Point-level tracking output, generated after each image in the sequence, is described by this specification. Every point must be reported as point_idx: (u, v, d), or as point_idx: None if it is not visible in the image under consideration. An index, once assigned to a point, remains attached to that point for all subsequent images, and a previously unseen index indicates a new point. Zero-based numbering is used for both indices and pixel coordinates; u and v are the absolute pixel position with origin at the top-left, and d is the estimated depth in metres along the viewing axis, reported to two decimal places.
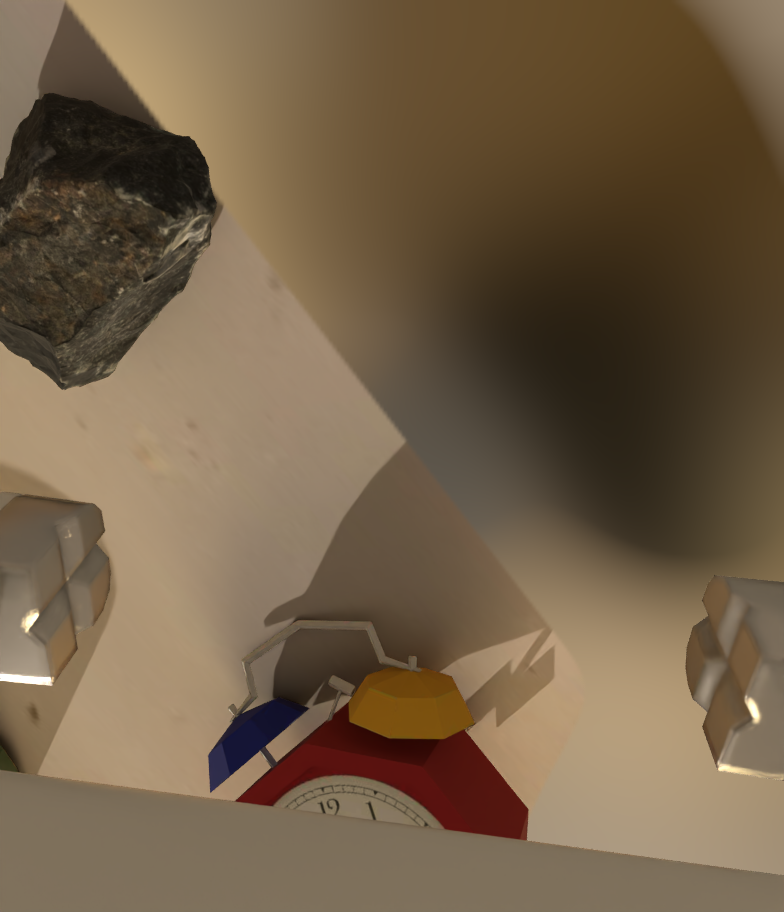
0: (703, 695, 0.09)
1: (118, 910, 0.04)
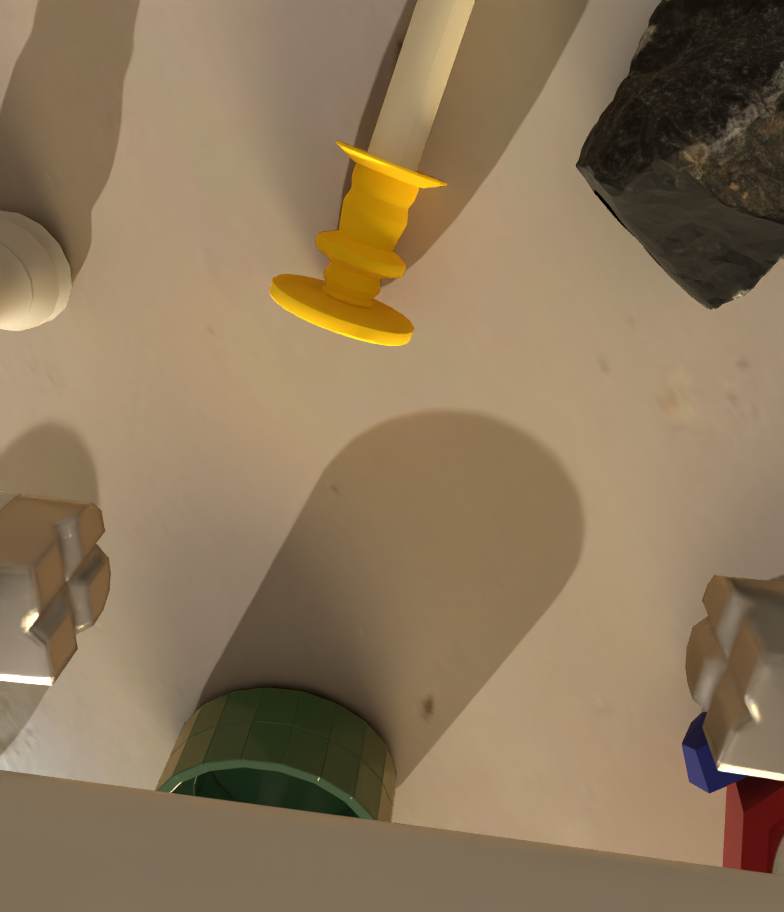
0: (703, 695, 0.09)
1: (119, 909, 0.04)
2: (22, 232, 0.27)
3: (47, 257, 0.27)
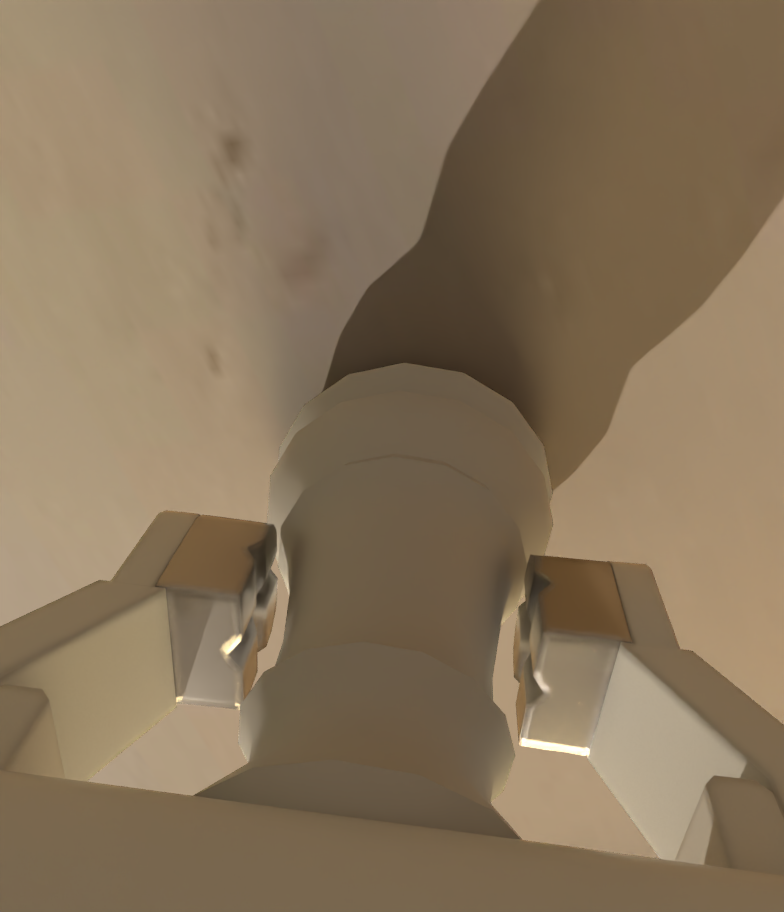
0: (521, 673, 0.10)
1: (119, 910, 0.04)
2: (503, 436, 0.10)
3: (545, 493, 0.11)
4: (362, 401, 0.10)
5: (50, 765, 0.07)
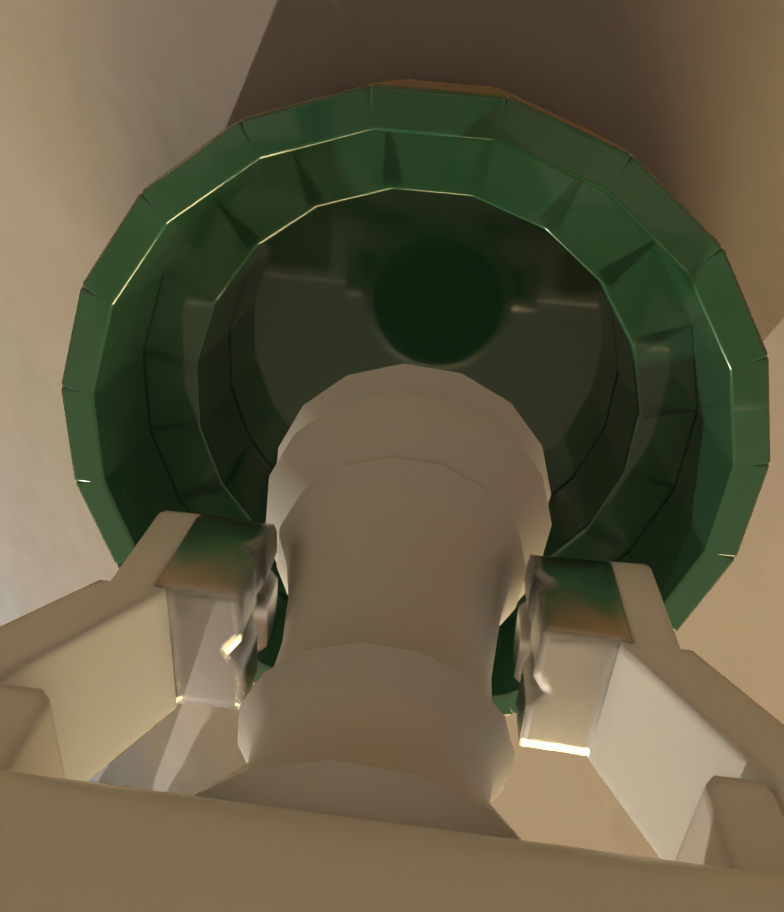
0: (521, 673, 0.10)
1: (119, 910, 0.04)
2: (502, 437, 0.10)
3: (544, 494, 0.11)
4: (361, 402, 0.10)
5: (50, 765, 0.07)
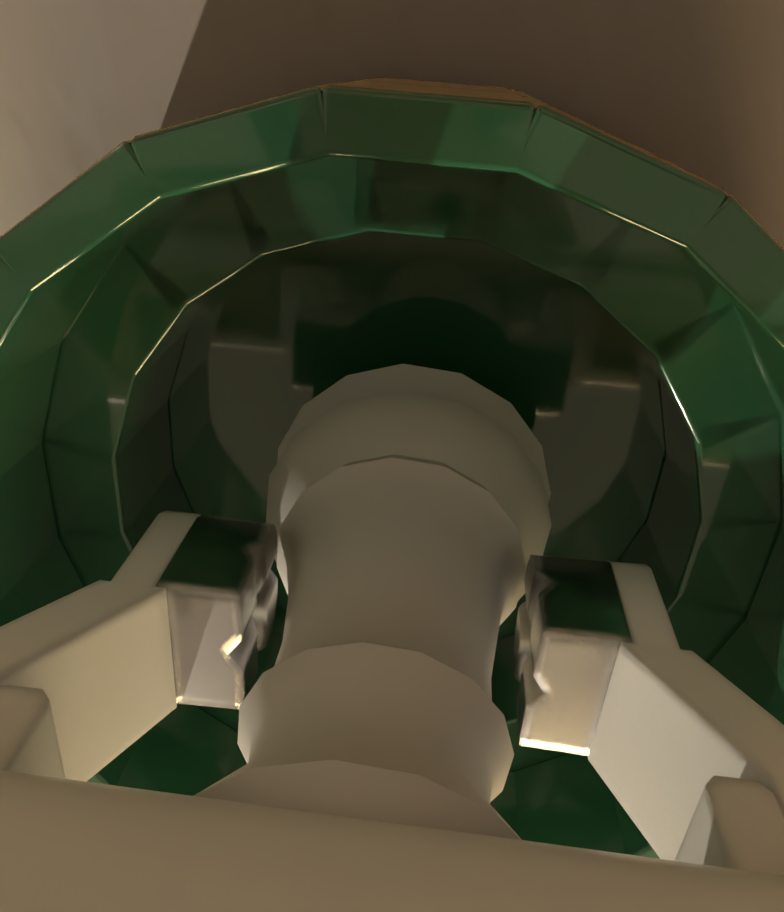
0: (521, 673, 0.10)
1: (118, 910, 0.04)
2: (501, 437, 0.10)
3: (544, 494, 0.11)
4: (361, 402, 0.10)
5: (50, 765, 0.07)
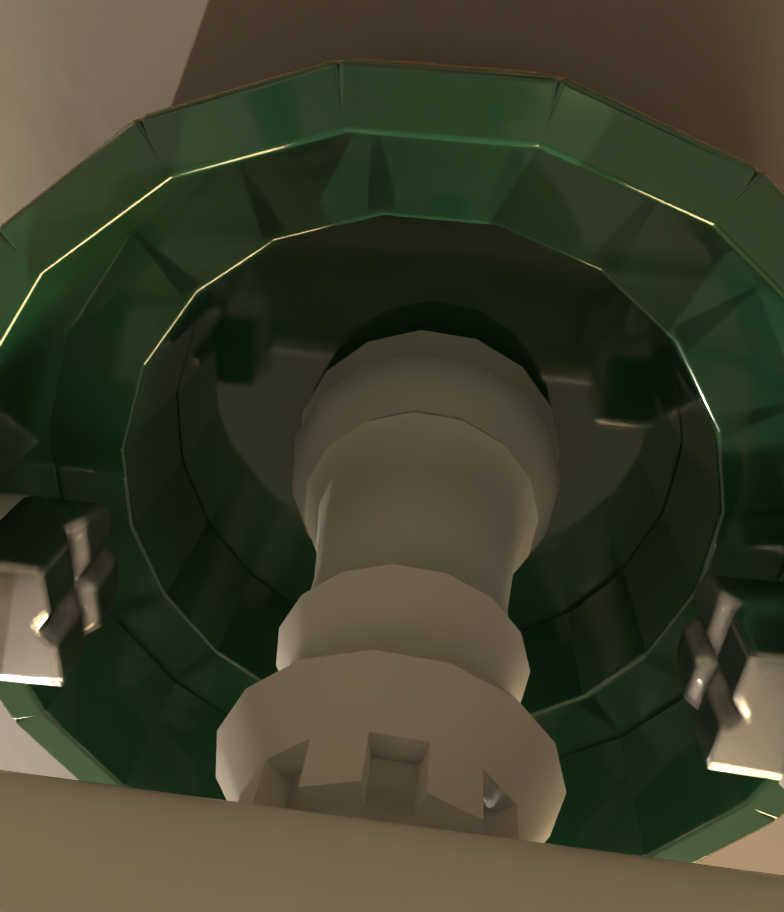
0: (694, 694, 0.09)
1: (119, 910, 0.04)
2: (514, 396, 0.11)
3: (554, 451, 0.11)
4: (382, 364, 0.11)
5: None
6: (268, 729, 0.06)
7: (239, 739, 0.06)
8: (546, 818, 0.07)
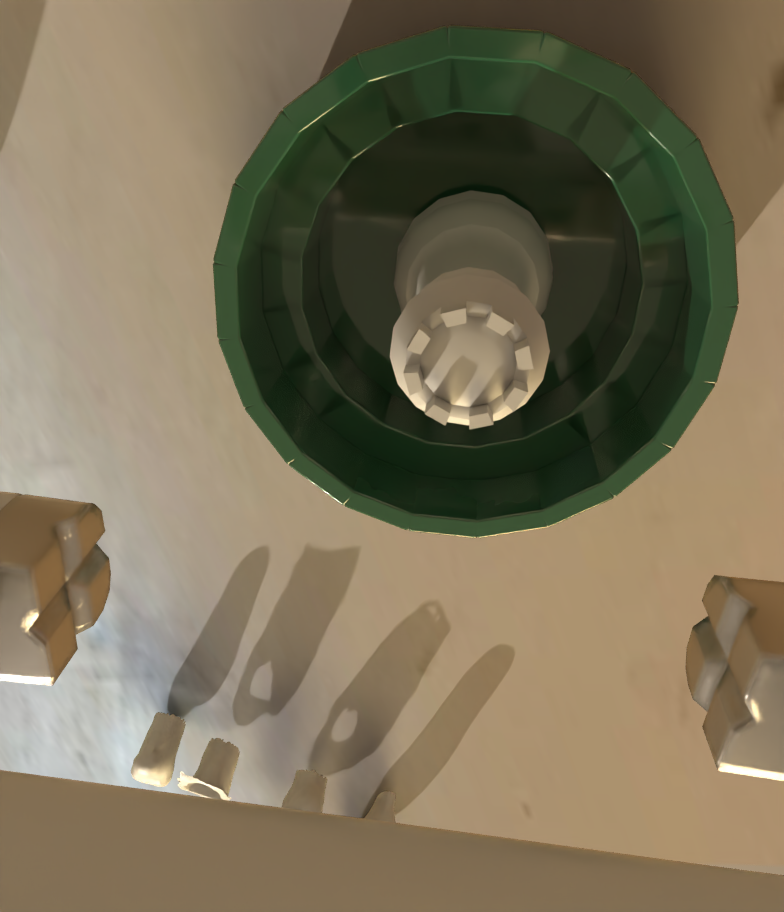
0: (703, 695, 0.09)
1: (119, 910, 0.04)
2: (525, 221, 0.19)
3: (548, 257, 0.20)
4: (450, 205, 0.19)
5: None
6: (421, 311, 0.15)
7: (406, 322, 0.15)
8: (540, 357, 0.15)
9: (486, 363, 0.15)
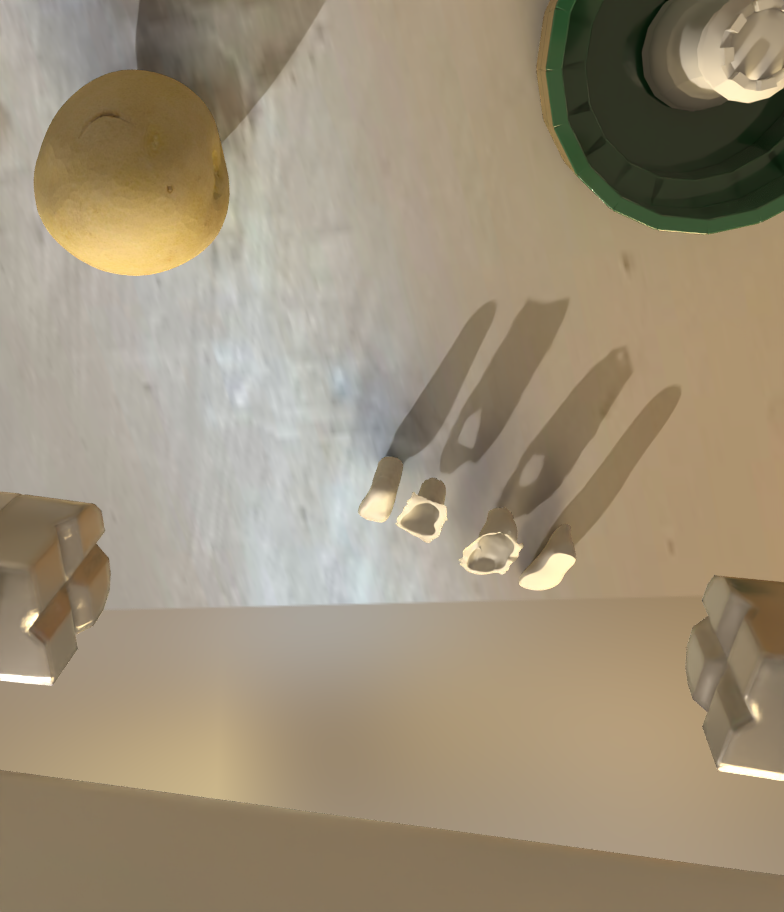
0: (703, 695, 0.09)
1: (119, 910, 0.04)
2: None
3: None
4: None
5: None
6: (735, 8, 0.23)
7: (721, 19, 0.23)
8: None
9: (776, 43, 0.23)
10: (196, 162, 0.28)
